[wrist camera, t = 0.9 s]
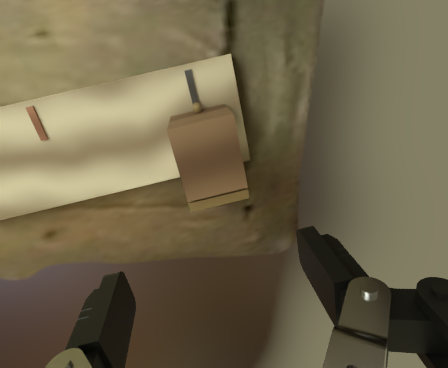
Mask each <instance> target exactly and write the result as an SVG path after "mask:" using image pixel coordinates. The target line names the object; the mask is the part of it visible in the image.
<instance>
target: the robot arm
mask: <svg viewBox="0 0 448 368" xmlns="http://www.w3.org/2000/svg"><path fill="white" fill-rule="evenodd" d="M296 235H297V243H298V252H299V259H300V263H301V266H302V268H303V270H304V272H305V274H306V276H307V278H308V279H309V281H310V283H311V285H312V287H313V288H314V290H315V292H316V294H317V296H318V297H319V299H320V301H321V303H322V304H323V306H324V308H325V310H326V312H327V313H328V315H329V317H330V319H331V320H332V322H333V324H334V326H335V327H334V328H333V331H332V335H331V338H330V342H329V345H328V349H327V353H326V357H325V360H324V364H323V368H387V366H388V354H389V351H391V352H405V353H417V355H418V356H419V358H420V359H421V360H422V362H423V363H424V365H425V366H426V367H427V368H448V280H447V279H443V278H437V277H428V278H424V279H422V280H420V281H419V282H418V283H417V288H416V289H394V288H389V287H388V286H387V285H386V284H385V283H384V282H382V281H380V280H378V279H376V278H372V277H369V276H368V275H367V274H366V272H364V270H363V269H362V268H361V267H360V265H359V264H358V263H357V262H356V261H355V260H354V258H353V257H352V256H351V255H349V253H348V251H347V250H346V249H345V248H344V247H343V245H342V244H341V243H340V242H339V241H338V239H335V238H334V237H332V236H330V235H328V234H325V235H320V234H319V233H318V231H317V230H316V229H315V227H314V226H310V227H306V228H302V229H298V230H297V231H296ZM135 312H136V302H135V297H134V295H133V292H132V290H131V288H130V285H129V283H128V281H127V279H126V276H125V274H124V273H123V272H117V273H113V274H108V275H105V276H104V277H103V280H102V282H101V285H100V288H99V289H95V290H94V291H93V292H92V293H91V294H90V295H89V297H88V298H87V299H86V301H85V303H84V305H83V308H82V312H81V313H80V315H79V318H78V321H77V322H76V325H75V327H74V330H73V332H72V334H71V337H70V339H69V342H68V344H67V347H66V349H65V351H63V352H61V353H60V354H58V355H57V356H56V357H54V358H53V359H52V360H51V361H50V362H49V363H48V365H47V366H46V367H45V368H125V363H126V358H127V353H128V347H129V342H130V337H131V332H132V327H133V322H134V317H135Z"/></svg>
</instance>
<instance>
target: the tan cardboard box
mask: <svg viewBox="0 0 448 368" xmlns="http://www.w3.org/2000/svg"><path fill="white" fill-rule="evenodd" d="M167 133H168V137H169V140H170V144H171V147H172V150H173V154H174V157H175V161H176V164H177V167H178V171H179V174H180V178H181V181H182V185H183V188H184V191H185V195H186V198H187V202H189V207H190V210H191V212H194V211H198V210H202V209H206V208H210V207H215V206H219V205H223V204H227V203H231V202H235V201H239V200H243V199H247V198H250V197H249V192H248V185H247V180H246V175H245V170H244V165H243V160H242V154H241V149H240V144H239V139H238V134H237V129H236V124H235V119H234V114H233V113H232V112H231V111H230V110H229V109H228V108H227V107H226V105H225V104H222V105H217V106H213V107H209V108H205V109H201V106H200V104H199V103H198V102H195V103H194V104H193V111H192V112H188V113H183V114H179V115H175V116H171V117H170V120H169V123H168V127H167Z"/></svg>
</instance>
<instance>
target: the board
mask: <svg viewBox="0 0 448 368" xmlns="http://www.w3.org/2000/svg"><path fill="white" fill-rule="evenodd" d="M195 102H198V103H199V104H200V106H201V109H205V108H209V107H213V106H217V105H222V104H225V105H226V107H227V108H228V109H229V110H230V111H231V112H232V113H233V114H234V119H235V124H236V129H237V134H238V139H239V144H240V149H241V154H242V160H243V162H244V161H249V160H250V155H249V149H248V144H247V138H246V133H245V128H244V122H243V117H242V111H241V106H240V101H239V95H238V90H237V84H236V79H235V74H234V68H233V63H232V57H231V54H227V55H223V56H219V57H214V58H210V59H206V60H201V61H197V62H193V63H188V64H184V65H180V66H175V67H171V68H167V69H162V70H158V71H154V72H149V73H145V74H141V75H136V76H132V77H128V78H123V79H119V80H114V81H110V82H106V83H101V84H97V85H93V86H88V87H84V88H80V89H75V90H71V91H67V92H62V93H58V94H54V95H49V96H45V97H41V98H36V99H32V100H28V101H23V102H19V103H15V104H10V105H6V106H2V107H0V220H4V219H8V218H12V217H16V216H20V215H24V214H29V213H33V212H37V211H41V210H45V209H49V208H53V207H58V206H62V205H66V204H70V203H74V202H78V201H82V200H87V199H91V198H95V197H99V196H103V195H107V194H112V193H116V192H120V191H124V190H128V189H132V188H136V187H141V186H145V185H149V184H153V183H157V182H161V181H166V180H170V179H174V178H178V177H180V174H179V171H178V167H177V164H176V161H175V157H174V154H173V150H172V147H171V144H170V140H169V137H168V133H167V127H168V123H169V120H170V117H171V116H175V115H179V114H183V113H188V112H192V111H193V104H194V103H195Z"/></svg>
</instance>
